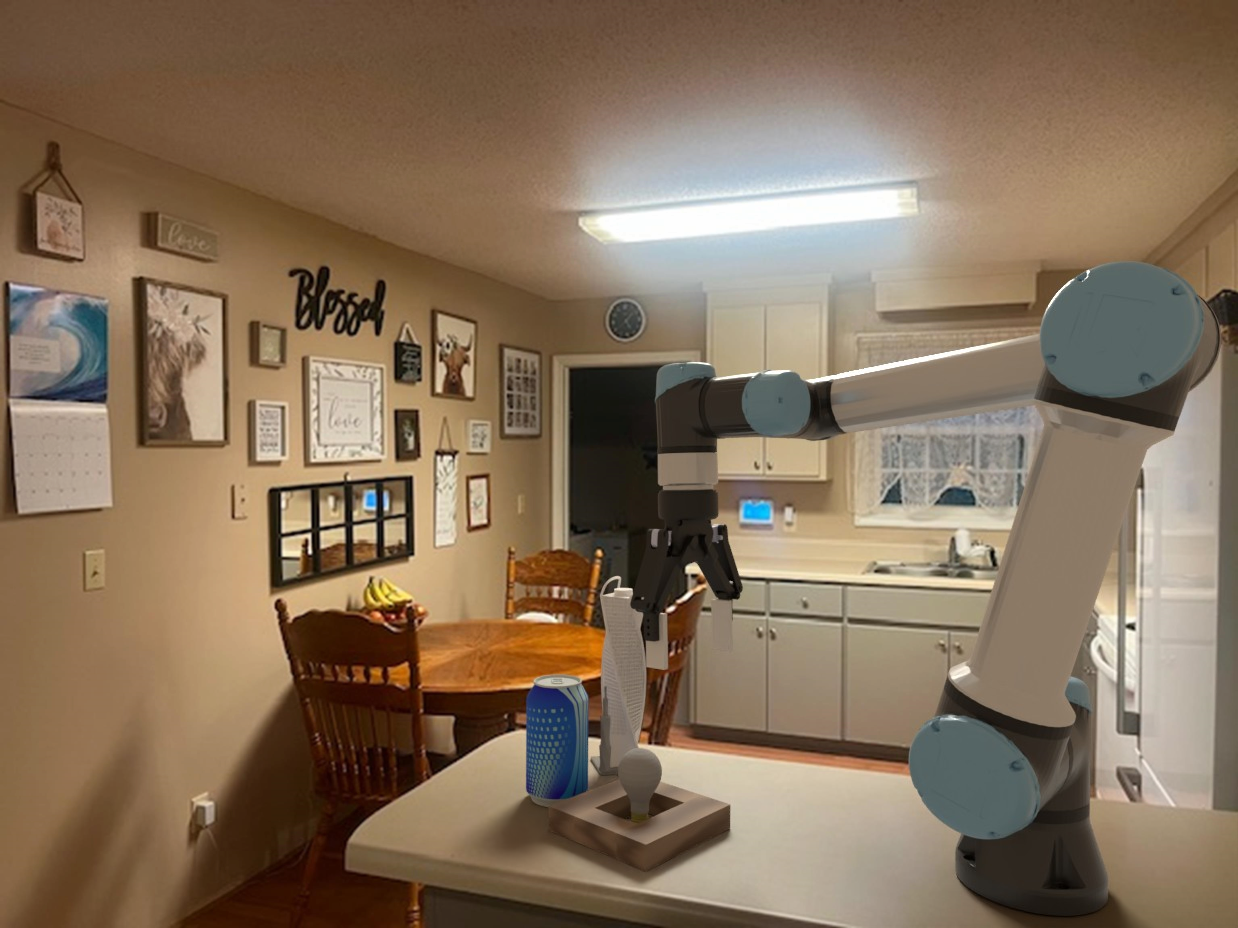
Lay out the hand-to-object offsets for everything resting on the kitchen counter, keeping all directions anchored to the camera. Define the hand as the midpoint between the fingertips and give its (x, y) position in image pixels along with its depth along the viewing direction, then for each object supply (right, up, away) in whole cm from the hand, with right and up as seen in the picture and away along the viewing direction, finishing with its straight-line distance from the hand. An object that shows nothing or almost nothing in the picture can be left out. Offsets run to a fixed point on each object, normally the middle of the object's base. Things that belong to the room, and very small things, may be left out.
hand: (691, 658), depth 110 cm
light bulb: (-6, -21, 0) cm, 22 cm away
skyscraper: (-9, -21, +24) cm, 33 cm away
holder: (-6, -21, 0) cm, 22 cm away
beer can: (-17, -21, +10) cm, 29 cm away
